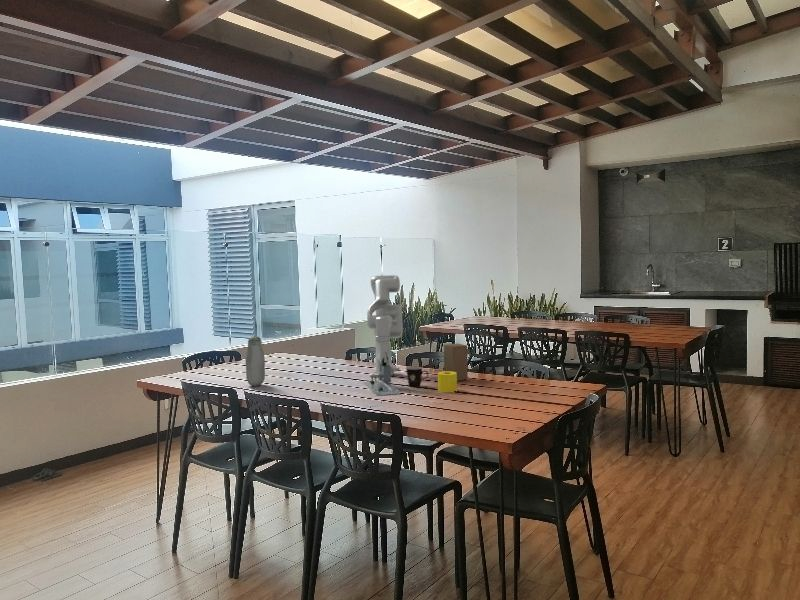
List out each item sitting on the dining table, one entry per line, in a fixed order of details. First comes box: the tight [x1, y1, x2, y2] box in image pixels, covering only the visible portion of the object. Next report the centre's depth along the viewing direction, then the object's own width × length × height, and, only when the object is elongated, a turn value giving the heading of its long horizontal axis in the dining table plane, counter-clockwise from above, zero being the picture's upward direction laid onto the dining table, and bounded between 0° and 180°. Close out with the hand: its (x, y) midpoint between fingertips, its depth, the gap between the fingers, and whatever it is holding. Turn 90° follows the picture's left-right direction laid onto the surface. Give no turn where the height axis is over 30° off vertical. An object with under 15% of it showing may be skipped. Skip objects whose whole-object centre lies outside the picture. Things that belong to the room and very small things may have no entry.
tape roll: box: [437, 370, 458, 393], centre depth 321 cm, size 10×10×9 cm
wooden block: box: [443, 343, 469, 381], centre depth 350 cm, size 10×10×20 cm
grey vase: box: [245, 335, 266, 387], centre depth 343 cm, size 10×10×28 cm
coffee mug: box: [406, 366, 429, 388], centre depth 333 cm, size 12×9×10 cm
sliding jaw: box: [373, 365, 392, 384], centre depth 330 cm, size 9×5×9 cm, turn 106°
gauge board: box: [363, 374, 400, 397], centre depth 329 cm, size 12×30×6 cm, turn 16°
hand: (383, 372), depth 336 cm, fingers closed
